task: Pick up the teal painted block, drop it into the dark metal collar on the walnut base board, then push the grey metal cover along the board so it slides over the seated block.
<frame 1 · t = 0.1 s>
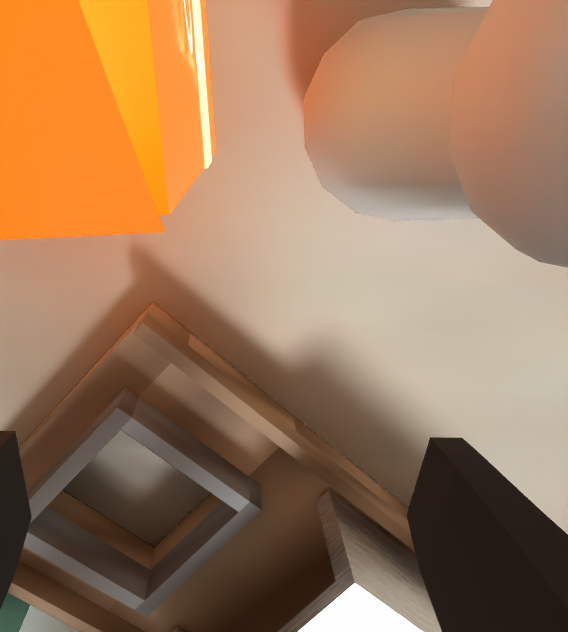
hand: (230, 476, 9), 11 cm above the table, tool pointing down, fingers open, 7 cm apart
orange juice: (66, 30, 16), on the table
housing base: (234, 535, 23), on the table
salt shaker: (375, 123, 18), on the table
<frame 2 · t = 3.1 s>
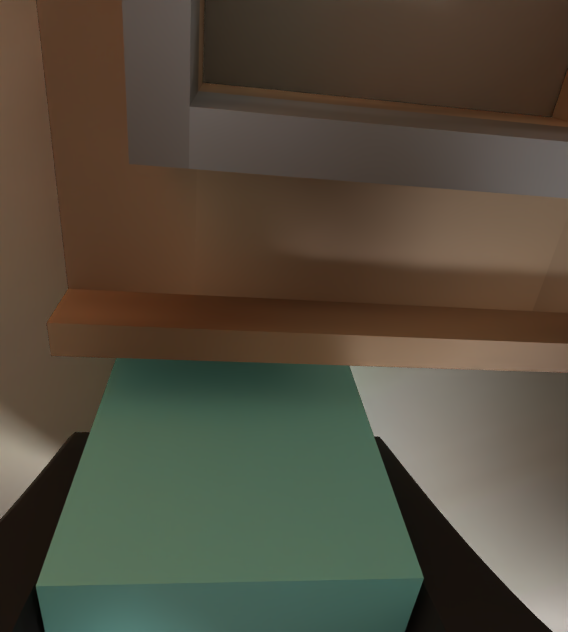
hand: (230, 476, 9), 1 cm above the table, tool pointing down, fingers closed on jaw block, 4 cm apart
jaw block: (230, 423, 10), on the table, touching gripper
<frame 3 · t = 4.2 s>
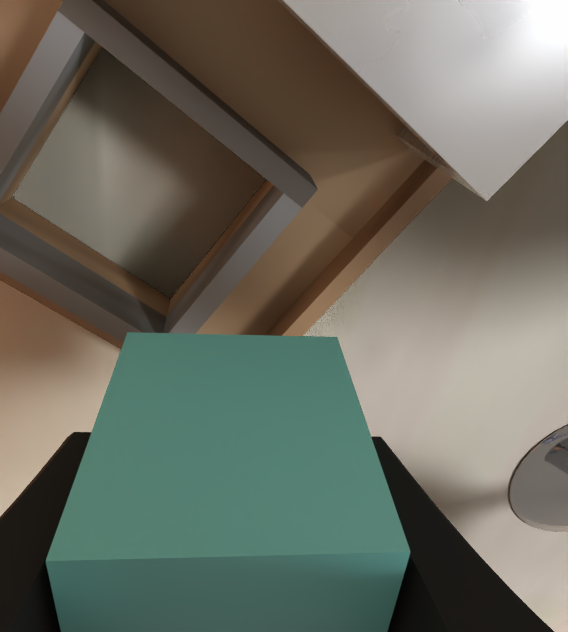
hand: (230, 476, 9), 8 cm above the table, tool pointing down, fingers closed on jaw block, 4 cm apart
housing base: (251, 30, 13), on the table
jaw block: (231, 416, 11), point 7 cm above the table, touching gripper
when the fingers open (4 cm above the table, at t = 5.8 s): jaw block drops 2 cm, resting in housing base.
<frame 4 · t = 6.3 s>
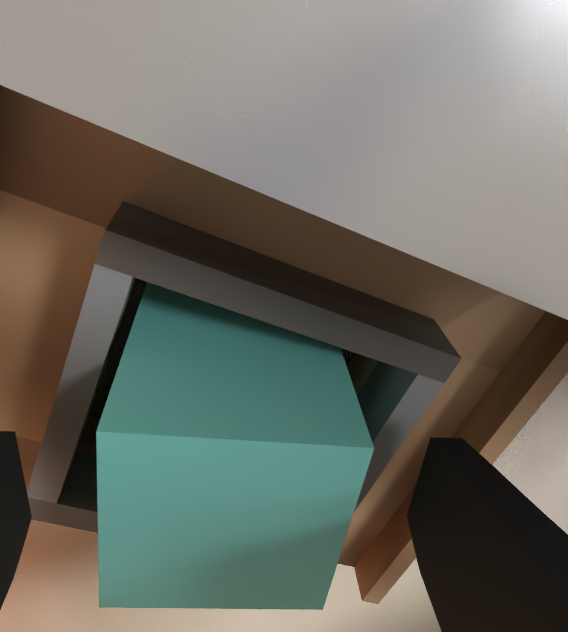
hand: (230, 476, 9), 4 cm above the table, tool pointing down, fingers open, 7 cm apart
housing base: (321, 169, 10), on the table
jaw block: (228, 365, 13), resting in housing base
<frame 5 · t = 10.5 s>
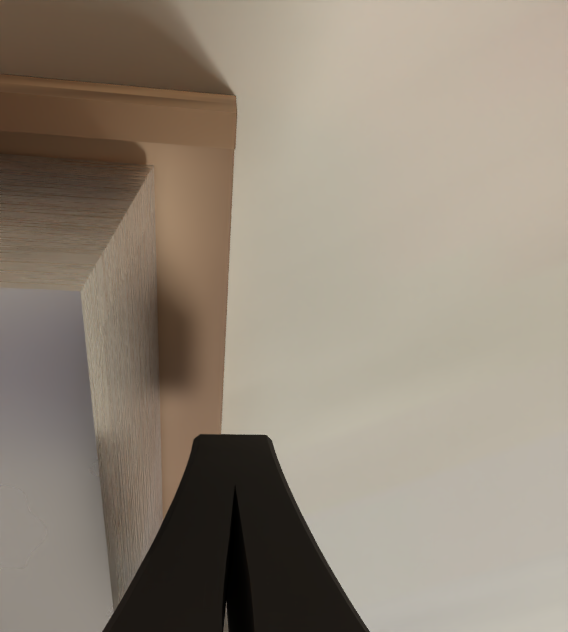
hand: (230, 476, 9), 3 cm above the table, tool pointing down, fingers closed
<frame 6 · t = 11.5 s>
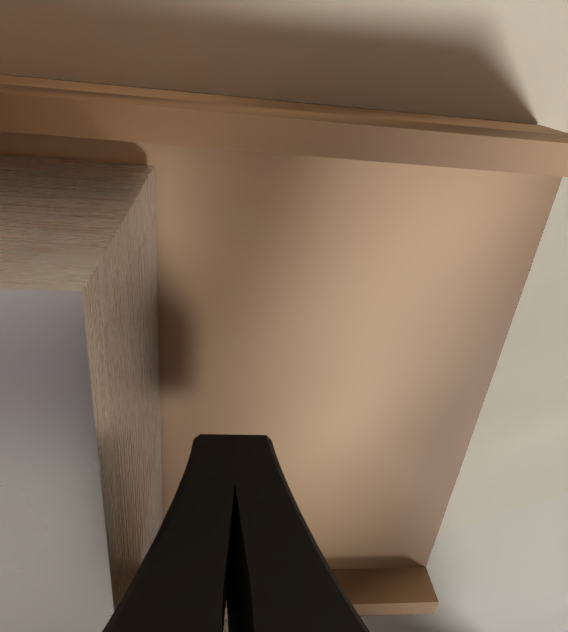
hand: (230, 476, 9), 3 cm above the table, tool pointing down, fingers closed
housing base: (58, 369, 12), on the table
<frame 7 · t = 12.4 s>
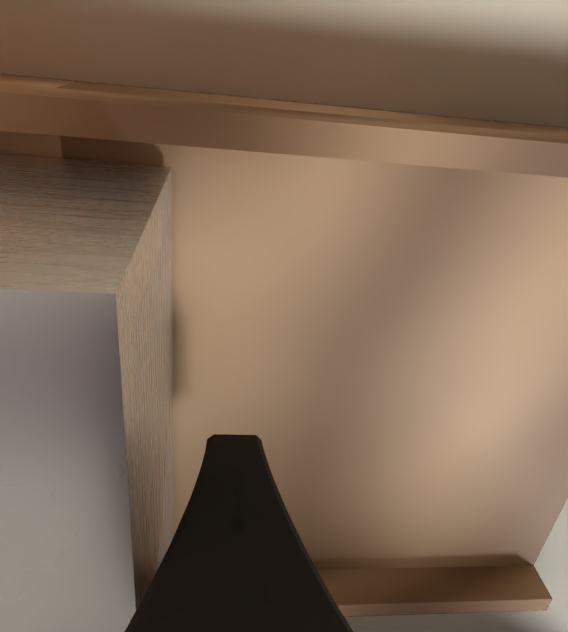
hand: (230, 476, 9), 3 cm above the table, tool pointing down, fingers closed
housing base: (203, 373, 12), on the table
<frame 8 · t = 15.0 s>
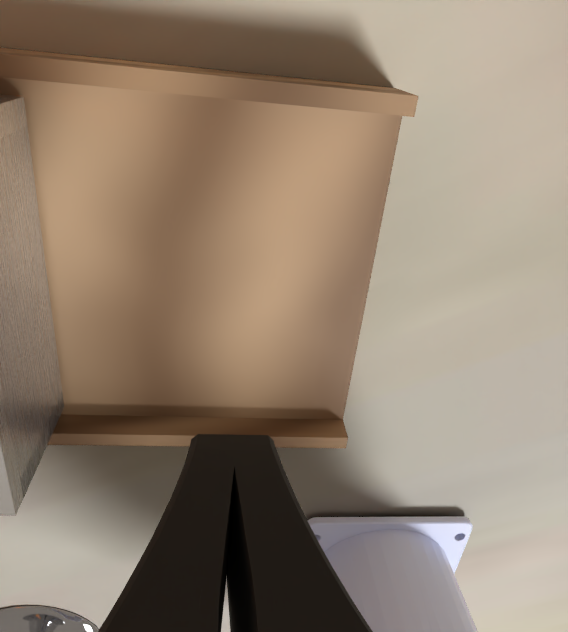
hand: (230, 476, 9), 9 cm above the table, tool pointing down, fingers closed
housing base: (76, 258, 17), on the table
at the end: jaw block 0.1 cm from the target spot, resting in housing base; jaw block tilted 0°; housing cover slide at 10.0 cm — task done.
